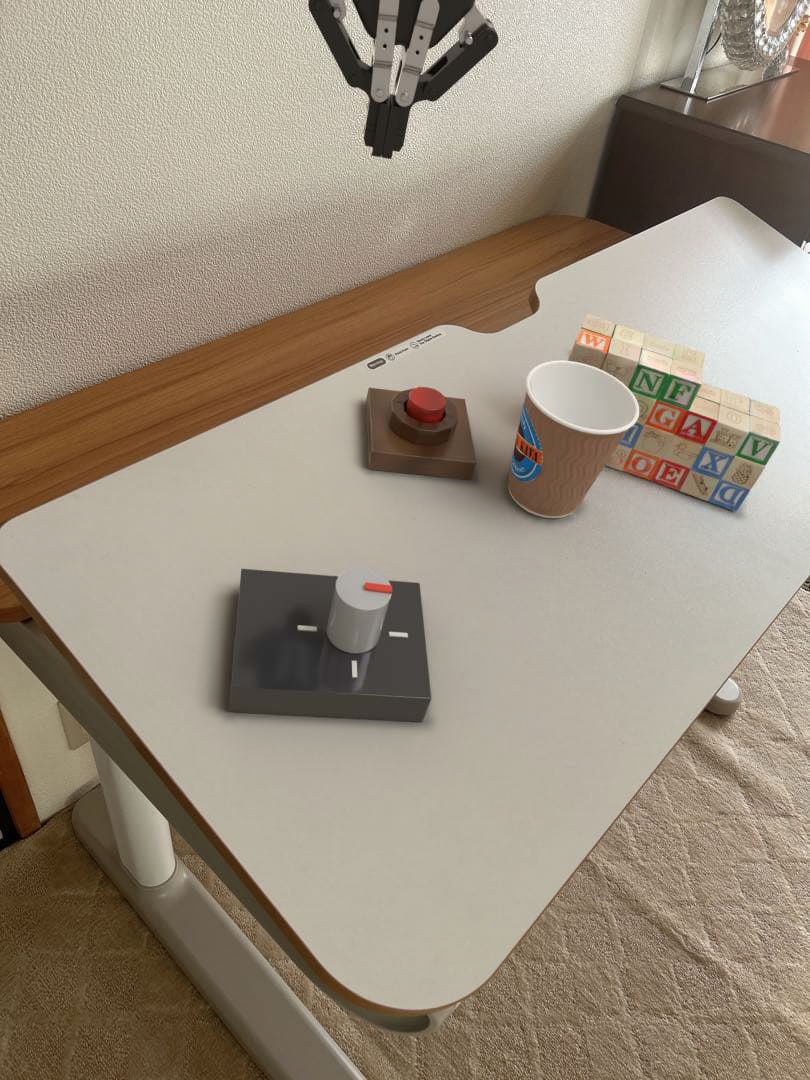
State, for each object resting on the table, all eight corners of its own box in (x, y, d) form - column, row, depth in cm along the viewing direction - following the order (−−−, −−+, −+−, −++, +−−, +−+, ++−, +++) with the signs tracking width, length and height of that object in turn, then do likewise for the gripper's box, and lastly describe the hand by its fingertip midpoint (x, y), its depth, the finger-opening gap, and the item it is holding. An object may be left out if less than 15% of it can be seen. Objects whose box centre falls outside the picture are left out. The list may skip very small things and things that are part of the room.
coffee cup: (483, 454, 88) (517, 353, 80) (580, 464, 90) (623, 366, 82) (499, 527, 81) (537, 424, 73) (604, 536, 83) (653, 437, 75)
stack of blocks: (739, 478, 94) (797, 383, 85) (736, 514, 89) (797, 418, 81) (548, 409, 96) (586, 310, 87) (536, 441, 92) (575, 340, 83)
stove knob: (324, 650, 64) (334, 603, 60) (327, 607, 67) (337, 560, 63) (379, 656, 64) (392, 610, 61) (380, 614, 67) (393, 567, 63)
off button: (407, 422, 84) (410, 407, 82) (404, 399, 86) (408, 384, 85) (444, 426, 84) (448, 411, 83) (440, 403, 87) (444, 389, 86)
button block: (368, 469, 83) (375, 436, 80) (365, 404, 90) (371, 372, 87) (471, 480, 85) (481, 448, 82) (459, 415, 92) (469, 384, 89)
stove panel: (228, 712, 62) (231, 686, 60) (238, 593, 70) (241, 566, 68) (423, 722, 65) (432, 697, 63) (412, 606, 72) (420, 581, 70)
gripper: (530, -132, 55) (463, 148, 67) (318, -183, 53) (288, 116, 65) (552, -107, 50) (475, 191, 62) (318, -163, 47) (285, 159, 59)
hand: (380, 152), depth 63 cm, fingers closed
